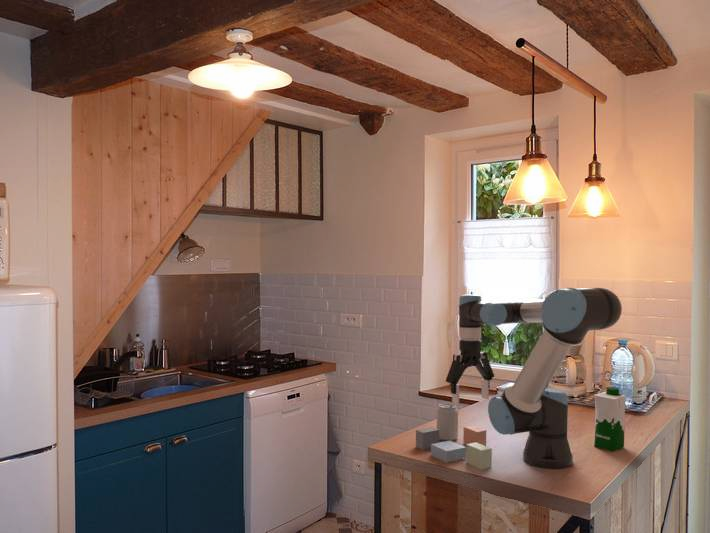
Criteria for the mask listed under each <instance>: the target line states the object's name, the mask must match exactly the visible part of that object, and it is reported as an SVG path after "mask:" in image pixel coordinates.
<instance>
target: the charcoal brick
mask: <svg viewBox="0 0 710 533" xmlns="http://www.w3.org/2000/svg"><path fill="white" fill-rule="evenodd" d="M435 443H440V439H439V429H437V427H433V426H430V427H424V428H420V429H419V428H417V429H415V448H416V449H419V450H421V451H428V450H431V444H435Z"/></svg>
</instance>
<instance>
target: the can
mask: <svg viewBox="0 0 710 533" xmlns="http://www.w3.org/2000/svg"><path fill="white" fill-rule="evenodd" d="M436 429H439V441H440V440H441V441H442V442H445V441H452V442H454V441H455V440H456V439H457V438H458V437H459V409H458V408H457V404H455V403H440V404H438V407H437V409H436Z"/></svg>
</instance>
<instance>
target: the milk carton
mask: <svg viewBox="0 0 710 533" xmlns="http://www.w3.org/2000/svg"><path fill="white" fill-rule="evenodd" d="M593 397H594V404H595V407H594V408H595V412H594V416H595V419H594V420H595V421H594V424H595V425H594V446H593V447H594V448H598V449H602V450H605V451H610V452H612V453H613V452H614V451H615V452H616V450H617V451H619V450H622V449H624V448H625V427H626V426H625V425H626V424H625V418H626V417H625V416H626V414H625V413H626V412H625V410H626V399H627V396H626V395H625V394H620V388H618V387H615V386H609V387H608V386H607V387H606V391H603V392H599V393H598V392H597V394H594V395H593ZM623 447H624V448H623ZM621 448H622V449H621Z"/></svg>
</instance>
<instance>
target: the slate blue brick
mask: <svg viewBox="0 0 710 533" xmlns="http://www.w3.org/2000/svg"><path fill="white" fill-rule="evenodd" d="M466 454H467V446H466V445H465V446H464V445H461V444H459V443H457V442H454V441H441V442H440V441H439V443H435V444H431V449H430V456H431V457H434V458H435V459H437V458H438V459H437V460H439V459H440V461H442V462H444V463H446V462H449V463H452V461H453V462H457V461H461V460H460V459H462V460H464V459H463V458H466ZM456 460H457V461H456Z"/></svg>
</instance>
